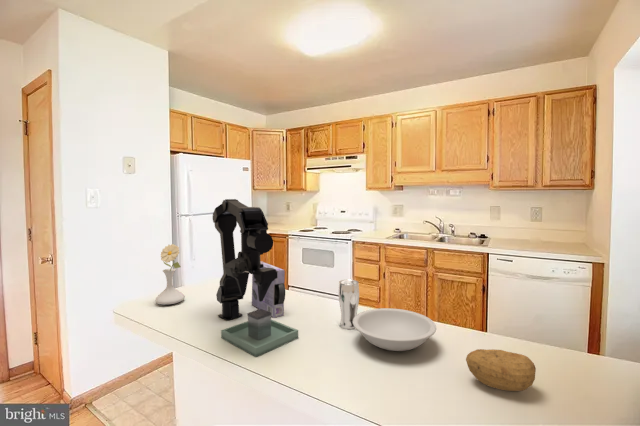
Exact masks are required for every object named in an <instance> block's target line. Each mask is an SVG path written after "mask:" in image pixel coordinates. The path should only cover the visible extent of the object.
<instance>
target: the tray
mask: <svg viewBox="0 0 640 426" xmlns="http://www.w3.org/2000/svg"><path fill="white" fill-rule="evenodd" d="M220 335H221V337H220V338H221V339H223V340H224V341H225V342H227V343H229V344H231V345H233V346H235V347H237V348H238V349H240V350H241V351H244V352H245V353H247V354H249V355H251V356H253V357H254V358H258V357H260V356H263V355H264V354H267V353H269V352H271V351H273V350H275V349H277V348H279V347H282V346H284V345H287V344H288V343H291V342H293V341H296V340H297V339H299V329H296V328H295V327H292V326H289V325H286V324H284V323H281V322H280V321H276V320H273V319H272V318H271V336H268V337H266V338H263V339H261V340H259V341H258V340H256V339H253V338H251V337H249V336H248V320H247V321H244V322H241V323H239V324H235V325H233V326H229V327H227V328H223V329H221V330H220Z"/></svg>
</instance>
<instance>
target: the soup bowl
mask: <svg viewBox="0 0 640 426" xmlns="http://www.w3.org/2000/svg"><path fill="white" fill-rule="evenodd" d="M353 325H354V327H355V329H356V331H358V332H359V333H360V334H361V335H362V337H363V338H364V339H365V340H366V341H367V342H369V343H370V344H371V345H373V346H375V347H377V348H380V349H383V350H387V351H395V352H404V351H410V350H412V349H416V348H418V347H420V346H422V344H424V342H426V341H427V340H428V338H430V337H432V336H433V335H434V334H436V331H437V325H436V324H435V322H434V320H433V319H431V318H430V317H428V316H426V315H424V314H422V313H419V312H415V311H412V310H407V309H402V308H391V307H390V308H387V307H386V308H385V307H383V308H373V309H369V310H368V309H367V310H363V311H361V312H359V313H357V315H356V316H355V317H354V318H353Z"/></svg>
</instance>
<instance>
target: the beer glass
mask: <svg viewBox="0 0 640 426" xmlns="http://www.w3.org/2000/svg"><path fill="white" fill-rule="evenodd" d="M359 286H360V285H359V281H358V280H356V279H341V280H340V281H338V302H339V307H340V313H341V315H340V323H339V327H341V328H342V329H345V330H354V329H356V328H355V327H354V325H353V318H354V317H355V316H356V315H357V314H358V308H359V303H360V287H359Z"/></svg>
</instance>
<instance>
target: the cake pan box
mask: <svg viewBox="0 0 640 426" xmlns="http://www.w3.org/2000/svg"><path fill="white" fill-rule="evenodd" d="M261 264H263V268H273V269H276V270H277V272H278V278H277V279H275V280H274V281H272V283H271V285H270V286H269V288H268V290H267V293H266V295H265V297H264V299H263V301H261V302H260V301H259V297H258V286H257V284H256V283H255V282H254V281H255V278H254V274H251V275H252V276H251V277H252V279H251V306H254V307H255V308H257V310H259V309H263V310H266V311H268V312H271V318H273V319H275V318H279V317H282V316H284V315H285V311H284V310H285V300H286V286H285V285H286V284H285V282H286V281H285V279H286V278H285V275H286V274H285V273H286V271H285V269H282V268H280V267H278V266H275V265H274V264H273V265H272V264H269V263H267V262H264V261H262V260H261ZM263 268H260V269H263Z"/></svg>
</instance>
